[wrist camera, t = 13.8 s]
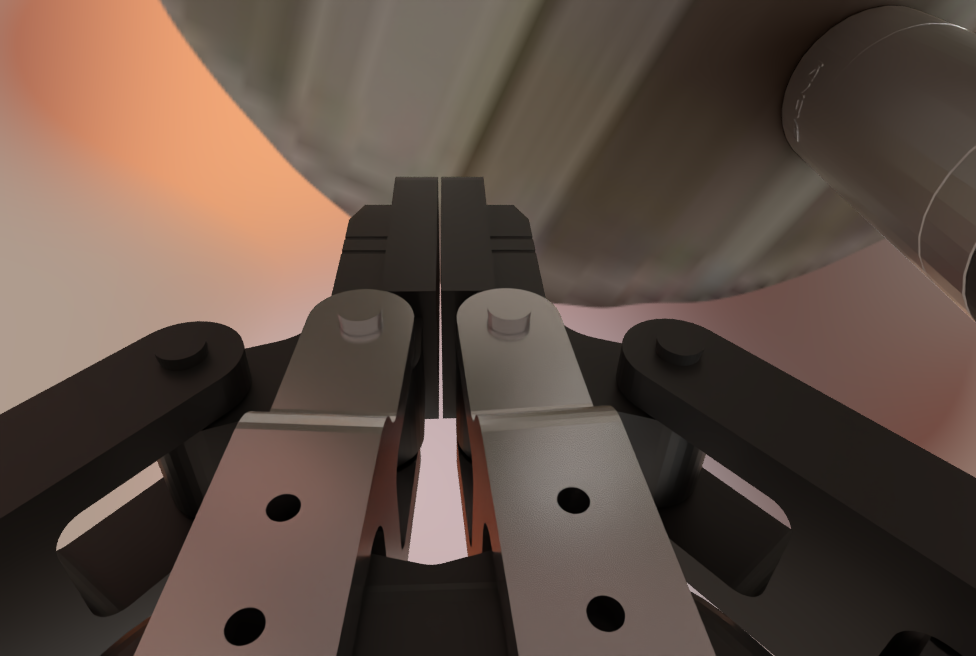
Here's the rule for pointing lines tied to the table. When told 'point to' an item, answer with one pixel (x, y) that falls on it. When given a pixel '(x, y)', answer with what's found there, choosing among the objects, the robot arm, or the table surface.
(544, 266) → the table surface
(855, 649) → the robot arm
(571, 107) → the table surface
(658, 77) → the table surface
